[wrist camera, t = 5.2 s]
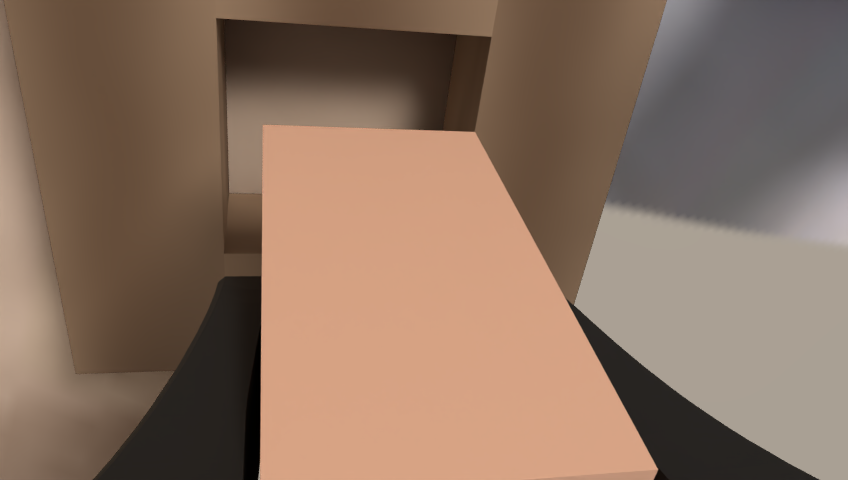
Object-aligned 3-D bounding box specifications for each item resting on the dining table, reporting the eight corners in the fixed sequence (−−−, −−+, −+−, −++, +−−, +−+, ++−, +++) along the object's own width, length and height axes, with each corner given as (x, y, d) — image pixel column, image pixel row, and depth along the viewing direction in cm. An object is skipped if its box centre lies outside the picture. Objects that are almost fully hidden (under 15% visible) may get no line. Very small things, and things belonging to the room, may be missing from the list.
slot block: (647, -157, 17) (709, -141, 15) (529, 297, 25) (557, 357, 23) (9, -243, 14) (-44, -240, 12) (96, 304, 22) (75, 373, 20)
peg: (474, 131, 14) (657, 469, 7) (446, 295, 16) (568, 667, 10) (262, 125, 13) (260, 499, 7) (263, 298, 15) (261, 709, 9)
